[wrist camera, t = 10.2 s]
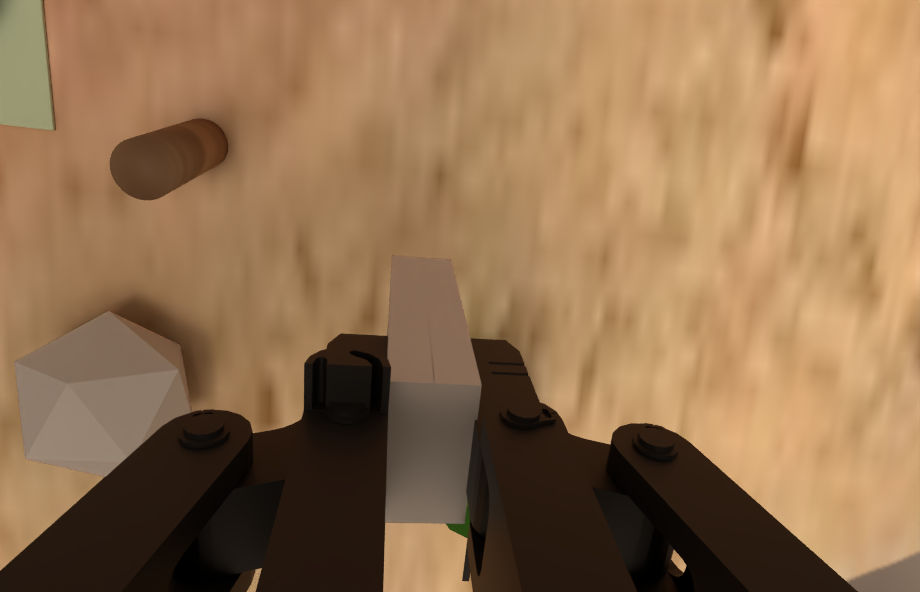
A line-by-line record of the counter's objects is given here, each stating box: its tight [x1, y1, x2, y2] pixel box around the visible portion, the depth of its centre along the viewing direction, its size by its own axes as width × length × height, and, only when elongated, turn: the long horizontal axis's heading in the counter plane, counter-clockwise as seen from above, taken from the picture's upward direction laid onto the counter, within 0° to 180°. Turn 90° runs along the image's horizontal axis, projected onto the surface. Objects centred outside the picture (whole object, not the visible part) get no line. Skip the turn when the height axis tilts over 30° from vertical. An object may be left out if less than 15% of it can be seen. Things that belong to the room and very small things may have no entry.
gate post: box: [110, 119, 228, 200], centre depth 30 cm, size 3×3×8 cm
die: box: [15, 311, 192, 477], centre depth 35 cm, size 8×9×10 cm
